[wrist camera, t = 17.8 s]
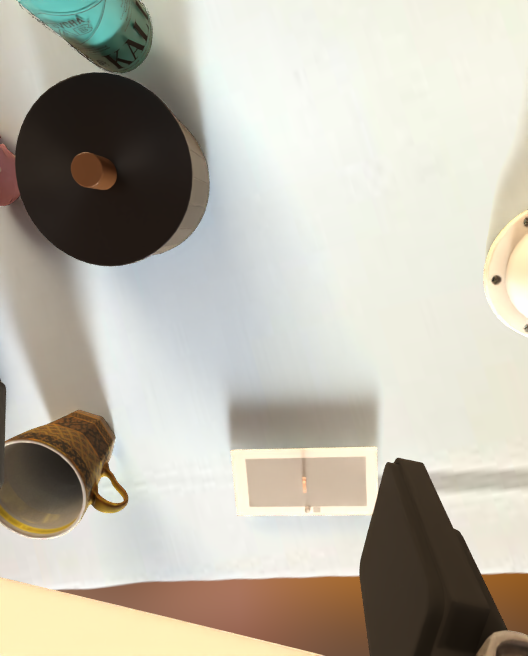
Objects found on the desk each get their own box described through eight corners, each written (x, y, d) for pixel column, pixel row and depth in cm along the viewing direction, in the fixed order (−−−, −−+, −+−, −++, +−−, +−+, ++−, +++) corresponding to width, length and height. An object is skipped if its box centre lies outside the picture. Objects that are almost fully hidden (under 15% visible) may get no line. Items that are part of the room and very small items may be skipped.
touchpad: (232, 444, 47) (228, 455, 45) (375, 441, 45) (378, 452, 43) (238, 509, 49) (235, 522, 46) (376, 508, 47) (379, 521, 45)
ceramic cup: (36, 462, 50) (-29, 520, 40) (50, 383, 47) (-15, 424, 38) (145, 497, 49) (106, 563, 40) (165, 419, 47) (129, 470, 37)
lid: (178, 61, 33) (163, 41, 29) (209, 253, 36) (198, 256, 32) (3, 94, 34) (-31, 79, 31) (47, 275, 37) (20, 280, 34)
